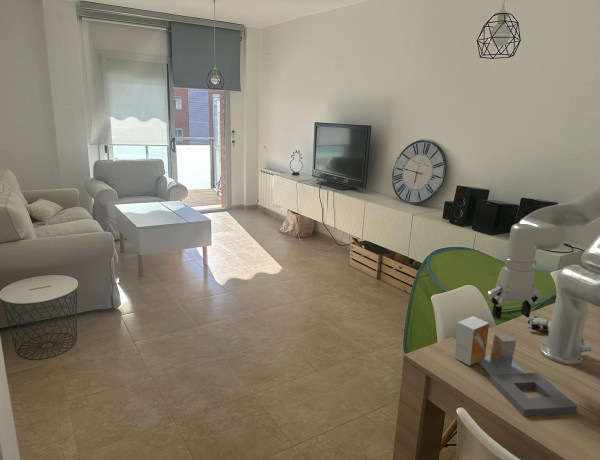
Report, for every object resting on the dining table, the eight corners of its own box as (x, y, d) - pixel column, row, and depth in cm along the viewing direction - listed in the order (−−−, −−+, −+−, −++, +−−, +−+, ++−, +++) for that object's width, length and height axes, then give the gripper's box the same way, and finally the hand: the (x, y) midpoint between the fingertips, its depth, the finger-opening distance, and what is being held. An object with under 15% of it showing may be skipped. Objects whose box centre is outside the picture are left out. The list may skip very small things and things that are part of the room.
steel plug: (502, 361, 141) (507, 333, 139) (510, 369, 137) (516, 340, 135) (489, 361, 141) (494, 334, 138) (497, 369, 136) (503, 341, 134)
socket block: (536, 378, 134) (537, 372, 133) (575, 412, 118) (577, 406, 118) (489, 380, 131) (490, 374, 131) (523, 416, 116) (524, 409, 115)
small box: (470, 366, 138) (474, 329, 134) (453, 357, 143) (456, 321, 139) (485, 358, 142) (489, 322, 139) (468, 350, 147) (472, 315, 144)
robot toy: (525, 334, 164) (571, 344, 155) (526, 323, 163) (573, 332, 154) (529, 322, 173) (573, 331, 165) (530, 312, 172) (574, 320, 164)
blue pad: (505, 355, 146) (505, 354, 146) (528, 376, 134) (529, 375, 134) (472, 357, 144) (472, 356, 144) (493, 378, 132) (493, 377, 132)
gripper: (536, 259, 135) (528, 309, 139) (485, 261, 132) (478, 312, 137) (553, 268, 128) (543, 320, 132) (500, 269, 125) (492, 323, 130)
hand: (510, 316), depth 135 cm, fingers open, 9 cm apart
